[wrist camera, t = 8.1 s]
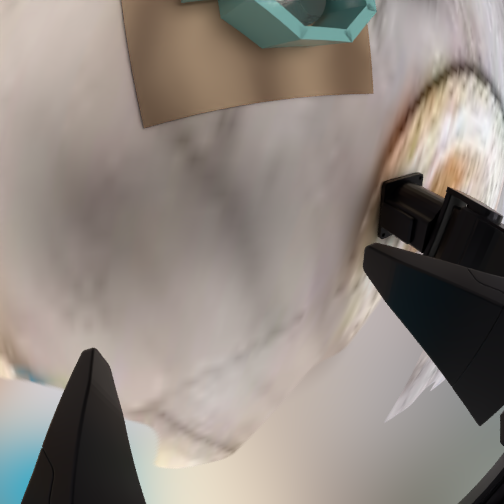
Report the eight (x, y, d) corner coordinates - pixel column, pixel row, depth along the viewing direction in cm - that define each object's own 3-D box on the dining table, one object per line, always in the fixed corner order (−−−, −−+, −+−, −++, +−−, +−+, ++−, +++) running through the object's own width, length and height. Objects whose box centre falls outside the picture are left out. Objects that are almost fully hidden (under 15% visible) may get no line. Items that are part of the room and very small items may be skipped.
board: (348, -48, 13) (353, -49, 12) (368, 92, 21) (373, 93, 20) (116, -54, 8) (116, -58, 8) (143, 127, 16) (144, 128, 16)
